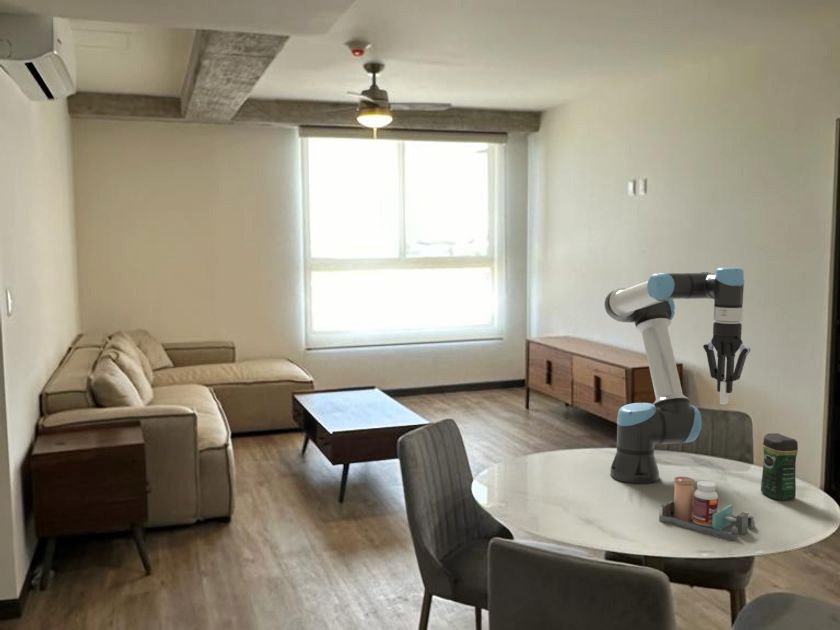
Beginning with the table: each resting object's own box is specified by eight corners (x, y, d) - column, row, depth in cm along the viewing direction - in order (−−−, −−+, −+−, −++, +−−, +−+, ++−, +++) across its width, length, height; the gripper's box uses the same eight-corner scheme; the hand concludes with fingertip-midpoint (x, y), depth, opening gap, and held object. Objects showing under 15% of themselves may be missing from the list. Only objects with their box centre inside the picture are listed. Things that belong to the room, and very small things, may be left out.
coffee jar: (800, 500, 229) (803, 438, 227) (776, 502, 227) (779, 440, 225) (779, 490, 238) (782, 430, 236) (755, 491, 237) (758, 431, 235)
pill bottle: (712, 529, 206) (713, 488, 205) (688, 523, 210) (690, 484, 209) (720, 522, 211) (721, 483, 210) (697, 517, 215) (699, 478, 214)
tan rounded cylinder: (669, 517, 214) (671, 479, 213) (678, 512, 218) (679, 475, 217) (687, 522, 211) (689, 483, 210) (696, 517, 215) (697, 479, 213)
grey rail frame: (659, 520, 212) (659, 506, 212) (681, 508, 222) (682, 494, 221) (733, 541, 198) (734, 525, 198) (754, 526, 208) (755, 512, 207)
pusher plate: (711, 533, 203) (712, 514, 203) (729, 522, 211) (729, 504, 211) (736, 539, 199) (736, 520, 199) (752, 528, 207) (753, 509, 206)
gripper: (699, 321, 223) (696, 402, 225) (745, 324, 214) (741, 409, 216) (710, 319, 228) (707, 398, 231) (756, 322, 219) (752, 404, 222)
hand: (724, 403), depth 224 cm, fingers closed
